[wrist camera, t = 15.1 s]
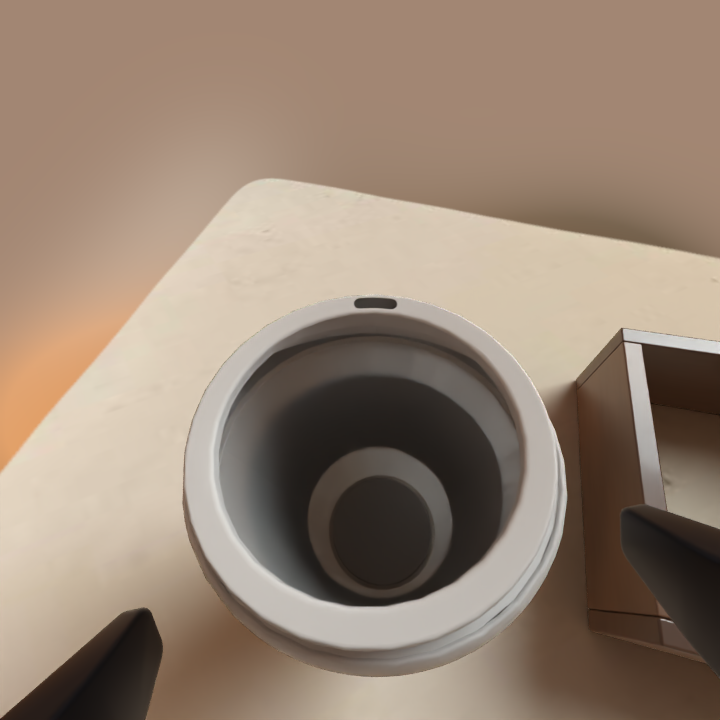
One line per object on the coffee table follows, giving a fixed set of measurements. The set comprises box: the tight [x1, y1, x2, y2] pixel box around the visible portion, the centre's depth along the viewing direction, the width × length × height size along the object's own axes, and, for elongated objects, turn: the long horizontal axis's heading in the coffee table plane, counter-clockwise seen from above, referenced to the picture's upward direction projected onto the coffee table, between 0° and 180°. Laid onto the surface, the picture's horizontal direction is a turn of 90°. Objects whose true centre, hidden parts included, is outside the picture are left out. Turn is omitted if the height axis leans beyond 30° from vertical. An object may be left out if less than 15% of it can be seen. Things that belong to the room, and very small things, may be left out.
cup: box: [183, 295, 567, 677], centre depth 11 cm, size 7×7×12 cm
